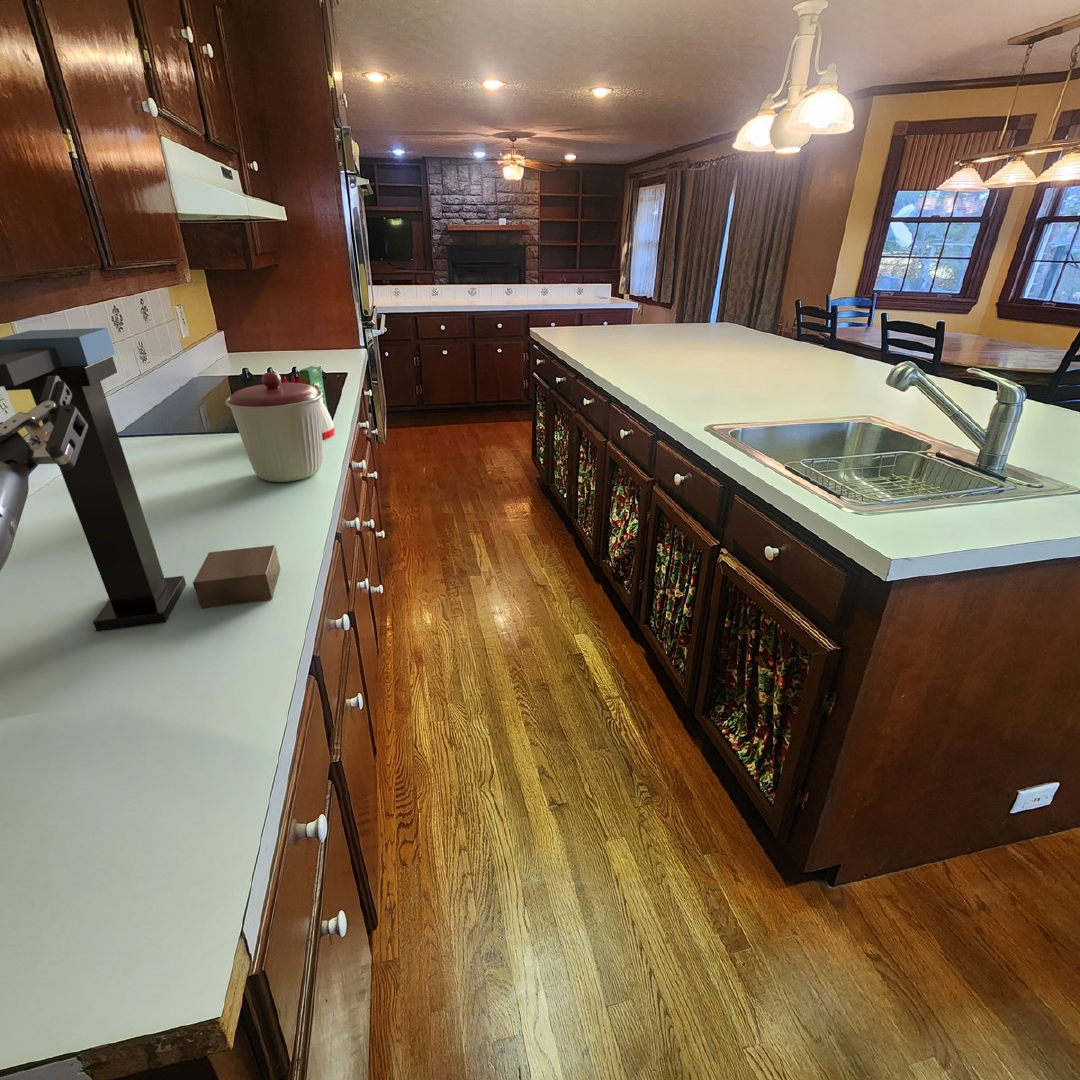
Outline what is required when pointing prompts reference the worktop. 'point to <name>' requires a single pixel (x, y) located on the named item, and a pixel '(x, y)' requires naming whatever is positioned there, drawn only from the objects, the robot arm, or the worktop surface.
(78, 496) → the stand
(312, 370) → the coffee box
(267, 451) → the canister
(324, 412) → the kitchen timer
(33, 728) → the worktop surface
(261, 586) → the brown wooden block
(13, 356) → the back pad
